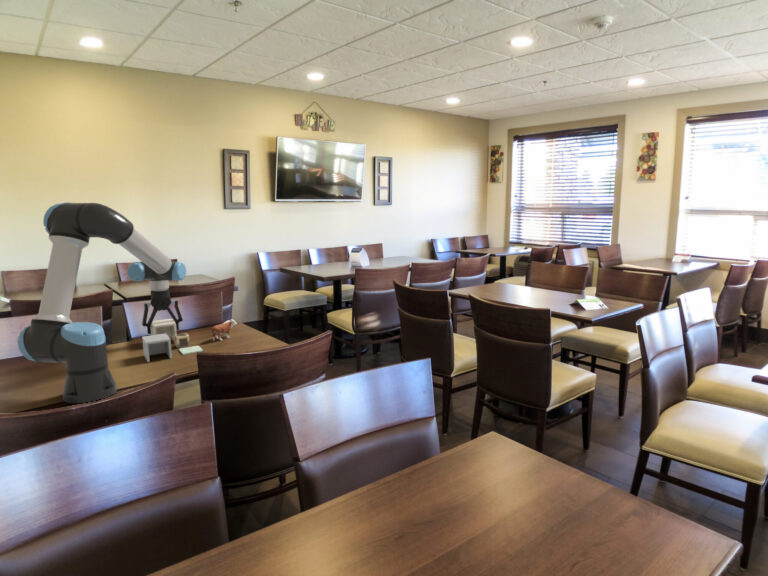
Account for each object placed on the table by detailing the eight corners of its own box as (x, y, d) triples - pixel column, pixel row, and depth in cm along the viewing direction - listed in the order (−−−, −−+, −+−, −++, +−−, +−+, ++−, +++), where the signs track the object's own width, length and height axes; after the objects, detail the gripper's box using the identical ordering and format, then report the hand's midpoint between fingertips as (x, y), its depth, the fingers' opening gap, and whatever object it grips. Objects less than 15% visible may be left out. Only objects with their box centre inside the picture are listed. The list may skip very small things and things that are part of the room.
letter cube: (190, 346, 214) (189, 335, 213) (177, 348, 211) (176, 337, 210) (187, 344, 218) (186, 332, 217) (175, 345, 215) (174, 334, 214)
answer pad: (203, 351, 207) (203, 350, 207) (182, 354, 202) (182, 353, 202) (198, 346, 213) (198, 345, 213) (178, 350, 209) (178, 348, 209)
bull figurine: (239, 335, 230) (238, 318, 229) (215, 342, 219) (214, 325, 218) (232, 334, 233) (231, 317, 231) (209, 341, 222) (207, 323, 220)
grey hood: (172, 358, 198) (170, 339, 197) (147, 362, 194) (145, 342, 192) (167, 351, 207) (165, 333, 205) (143, 355, 202) (142, 336, 200)
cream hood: (177, 340, 219) (175, 323, 217) (155, 344, 214) (153, 326, 212) (172, 335, 227) (171, 318, 225) (151, 338, 222) (149, 321, 221)
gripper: (184, 285, 225) (187, 333, 229) (131, 290, 214) (136, 340, 218) (187, 288, 219) (191, 337, 223) (133, 293, 207) (138, 345, 211)
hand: (164, 339), depth 220 cm, fingers closed on cream hood, 9 cm apart
